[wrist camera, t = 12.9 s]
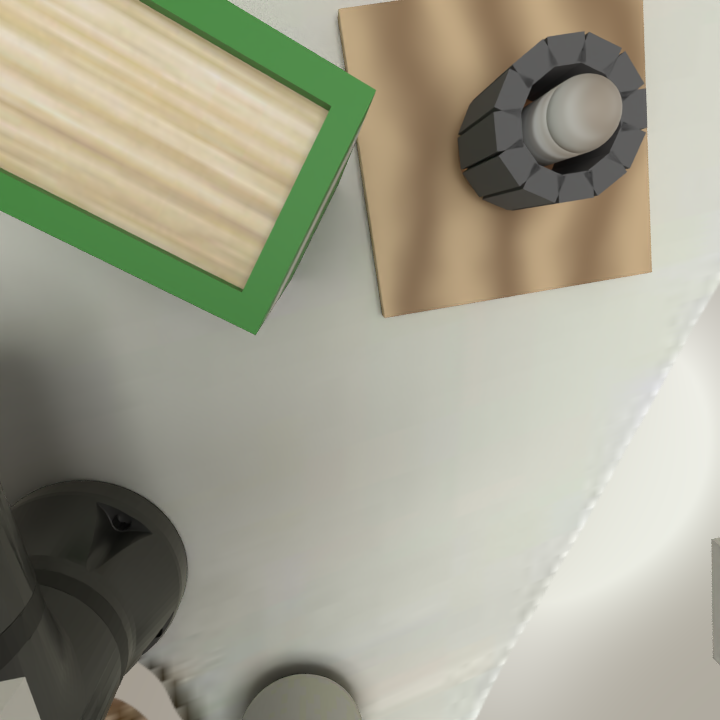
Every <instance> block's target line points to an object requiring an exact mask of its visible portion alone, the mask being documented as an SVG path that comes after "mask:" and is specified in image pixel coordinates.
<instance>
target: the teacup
mask: <svg viewBox="0 0 720 720" xmlns="http://www.w3.org/2000/svg"><path fill="white" fill-rule="evenodd" d="M242 720H362V718H361V715H360V712H359V710H358V707H357V705H356V703H355V702H354V700H353V698H352V697H351V696H350V694H349V693H348V692H347V691H346V690H345V689H344V688H343V687H342V686H340V685H339V684H337V683H336V682H334V681H333V680H331V679H329V678H326V677H323V676H319V675H313V674H296V675H291V676H287V677H284V678H281V679H279V680H277V681H275V682H273V683H272V684H270V685H268V686H267V687H266V688H264V689H263V690H262V691H261V692H260V693H259V694H258V695H257V696H256V697H255V698H254V699H253V701H252V702H251V703H250V705H249V706H248V708H247V710H246V712H245V714H244V716H243V718H242Z"/></svg>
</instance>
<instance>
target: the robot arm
mask: <svg viewBox="0 0 720 720" xmlns="http://www.w3.org/2000/svg"><path fill="white" fill-rule="evenodd" d="M186 581H187V560H186V554H185V550H184V547H183V544H182V542H181V539H180V537H179V535H178V533H177V531H176V530H175V528H174V527H173V525H172V524H171V522H170V521H169V520H168V519H167V517H166V516H165V515H164V514H163V513H162V512H161V511H160V510H159V509H158V508H157V507H155V506H154V505H153V504H152V503H150V502H149V501H147V500H146V499H144V498H143V497H141V496H139V495H138V494H136V493H134V492H132V491H130V490H127V489H125V488H122V487H119V486H116V485H112V484H108V483H103V482H96V481H68V482H62V483H57V484H53V485H49V486H46V487H44V488H41V489H39V490H36V491H34V492H32V493H31V494H29V495H27V496H25V497H24V498H22V499H21V500H20V501H18V502H17V503H16V504H15V505H13V506H12V507H11V508H10V507H9V504H8V502H7V499H6V497H5V494H4V491H3V489H2V486H1V483H0V720H105V717H106V715H107V713H108V710H109V708H110V706H111V703H112V701H113V699H114V697H115V694H116V692H117V689H118V687H119V685H120V683H121V680H122V678H123V676H124V675H125V674H126V673H127V672H128V671H129V670H130V669H131V668H132V667H133V666H134V665H135V664H136V663H137V662H138V660H139V659H140V657H141V655H143V654H144V653H145V652H147V651H148V650H149V649H150V648H151V647H152V646H153V645H154V644H155V643H156V642H157V641H158V640H159V639H160V638H161V637H162V636H163V634H164V633H165V632H166V630H167V629H168V627H169V626H170V624H171V622H172V621H173V619H174V617H175V615H176V612H177V610H178V607H179V604H180V602H181V599H182V596H183V593H184V590H185V586H186ZM712 613H713V614H712V619H713V620H712V622H713V658H714V660H715V661H716V662H717V663H718V664H719V665H720V538H715V539H712Z"/></svg>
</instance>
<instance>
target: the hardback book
mask: <svg viewBox="0 0 720 720" xmlns="http://www.w3.org/2000/svg"><path fill="white" fill-rule="evenodd" d="M375 92H376V90H375V89H374V88H372V87H370V86H369V85H367V84H365V83H364V82H362V81H360V80H359V79H357V78H355V77H354V76H352V75H350V74H349V73H347V72H345V71H344V70H342V69H340V68H339V67H337V66H335V65H334V64H332V63H330V62H329V61H327V60H325V59H324V58H322V57H320V56H319V55H317V54H315V53H314V52H312V51H310V50H309V49H307V48H305V47H304V46H302V45H300V44H299V43H297V42H295V41H294V40H292V39H290V38H289V37H287V36H285V35H284V34H282V33H280V32H279V31H277V30H275V29H274V28H272V27H270V26H269V25H267V24H265V23H264V22H262V21H260V20H259V19H257V18H255V17H254V16H252V15H250V14H249V13H247V12H245V11H244V10H242V9H240V8H239V7H237V6H235V5H234V4H232V3H230V2H229V1H227V0H0V211H2V212H4V213H6V214H8V215H10V216H13V217H15V218H17V219H19V220H21V221H23V222H25V223H27V224H29V225H31V226H33V227H35V228H37V229H39V230H41V231H43V232H45V233H47V234H49V235H51V236H54V237H56V238H58V239H60V240H62V241H64V242H66V243H68V244H70V245H72V246H74V247H76V248H78V249H80V250H82V251H84V252H86V253H88V254H90V255H92V256H94V257H97V258H99V259H101V260H103V261H105V262H107V263H109V264H111V265H113V266H115V267H117V268H119V269H121V270H123V271H125V272H127V273H129V274H131V275H133V276H135V277H138V278H140V279H142V280H144V281H146V282H148V283H150V284H152V285H154V286H156V287H158V288H160V289H162V290H164V291H166V292H168V293H170V294H172V295H174V296H176V297H179V298H181V299H183V300H185V301H187V302H189V303H191V304H193V305H195V306H197V307H199V308H201V309H203V310H205V311H207V312H209V313H211V314H213V315H215V316H217V317H219V318H222V319H224V320H226V321H228V322H230V323H232V324H234V325H236V326H238V327H240V328H242V329H244V330H246V331H248V332H250V333H252V334H254V335H256V334H257V332H258V330H259V329H260V327H261V326H262V324H263V323H264V321H265V319H266V318H267V316H268V315H269V313H270V312H271V310H272V308H273V307H274V305H275V304H276V302H277V301H278V299H279V298H280V296H281V294H282V293H283V291H284V290H285V288H286V287H287V285H288V283H289V282H290V280H291V279H292V277H293V275H294V273H295V271H296V269H297V267H298V265H299V263H300V261H301V259H302V257H303V255H304V253H305V251H306V248H307V246H308V244H309V242H310V240H311V238H312V236H313V234H314V232H315V230H316V228H317V226H318V224H319V222H320V220H321V218H322V216H323V214H324V212H325V210H326V208H327V206H328V204H329V202H330V200H331V198H332V196H333V194H334V192H335V190H336V188H337V186H338V184H339V181H340V179H341V176H342V174H343V171H344V169H345V166H346V164H347V162H348V159H349V157H350V154H351V152H352V149H353V147H354V144H355V142H356V139H357V137H358V134H359V132H360V129H361V127H362V124H363V122H364V119H365V117H366V115H367V112H368V110H369V107H370V105H371V102H372V100H373V97H374V95H375Z"/></svg>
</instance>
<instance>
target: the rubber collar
mask: <svg viewBox="0 0 720 720" xmlns="http://www.w3.org/2000/svg"><path fill="white" fill-rule="evenodd" d="M621 49H622V48H621V47H619V46H617V45H615V44H613V43H611V42H609V41H607V40H605V39H603V38H601V37H599V36H597V35H595V34H593V33H591V32H588V33H587V34H585V31H581V32H575V33H568V34H561V35H555V36H548V37H546V38H545V39H542V40H541V41H540V42H538V43H537V44H536V45H535V46H534V47H533V48H531V49H530V50H529V51H528V52H527V53H525V54H524V55H523V56H522V57H521V58H520V59H518V60H517V61H516V62H515V63H514V64H512V65H511V66H510V67H509V68H508V69H507V70H506V71H505V72H504V73H502V74H501V75H500V76H499V77H498V78H497V79H496V80H495V81H494V82H492V83H491V84H490V85H489V86H488V87H487V88H486V89H485V90H484V91H482V92H481V93H480V94H479V95H478V96H477V97H476V98H475V99H474V100H472V103H470V105H469V107H468V110H467V112H466V115H465V117H464V120H463V123H462V125H461V128H460V130H459V133H458V135H461V136H460V137H458V138H457V139H458V148H459V158H460V167H461V169H467V170H465V171H464V172H463V173H462V174H463V175H464V176H465V178H466V179H467V181H468V182H469V183H470V185H471V186H472V188H473V189H474V190H475V192H476V193H477V195H478V196H479V197H482V196H483V198H482V200H485V201H487V202H489V203H492V204H494V205H496V206H499V207H501V208H504V209H506V210H512V211H513V210H520V209H526V208H532V207H539V206H545V205H551V204H558V203H564V202H570V201H576V200H582V199H588V198H594V196H598V195H599V194H601V193H602V192H603V191H604V190H606V189H607V188H608V187H609V186H611V185H612V184H613V183H614V182H616V181H617V180H618V179H619V178H620V177H622V176H623V175H624V174H625V173H627V171H626V170H625V169H629V168H630V167H631V165H632V163H633V161H634V158H635V156H636V154H637V152H638V150H639V147H640V145H641V143H642V141H643V139H644V136H645V134H646V132H644V131H642V129H645V128H647V106H646V88H644V89H639V88H640V87H641V86H642V85H643V84H645V83H644V82H643V80H642V78H641V77H640V75H639V73H638V72H637V70H636V68H635V67H634V65H633V63H632V62H631V60H630V58H629V56H628V55H627V53H626V51H624V52H623V53H621V54H620V55H619V53H620V51H621ZM586 73H592V74H598V75H601V76H604V77H606V78H607V79H609V80H610V81H611V82H613V84H614V85H615V86H616V87H617V89H618V91H619V93H620V95H621V99H622V115H621V119H620V122H619V125H618V127H617V129H616V130H615V132H614V133H613V135H612V136H611V137H610V138H609V140H607V141H606V142H605V143H604V144H603V145H601V146H600V147H598V148H597V149H595V150H592V151H590V152H587V153H584V154H581V155H578V156H575V157H572V158H569V159H566V160H563V161H560V162H557V163H554V165H553V168H552V170H550V169H547V168H545V167H543V166H541V165H538V163H537V162H536V160H535V159H534V157H533V156H532V154H531V153H530V151H529V150H528V148H527V147H526V145H525V144H524V142H523V132H522V120H521V112H522V109H523V107H524V104H525V102H526V99H528V100H530V101H532V102H533V101H535V100H536V99H538V98H539V97H541V96H542V95H544V94H545V93H547V92H549V91H550V90H552V89H553V88H555V87H556V86H558V85H559V84H561V83H563V82H564V81H566V80H567V79H569V78H571V77H573V76H576V75H580V74H586Z"/></svg>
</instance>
